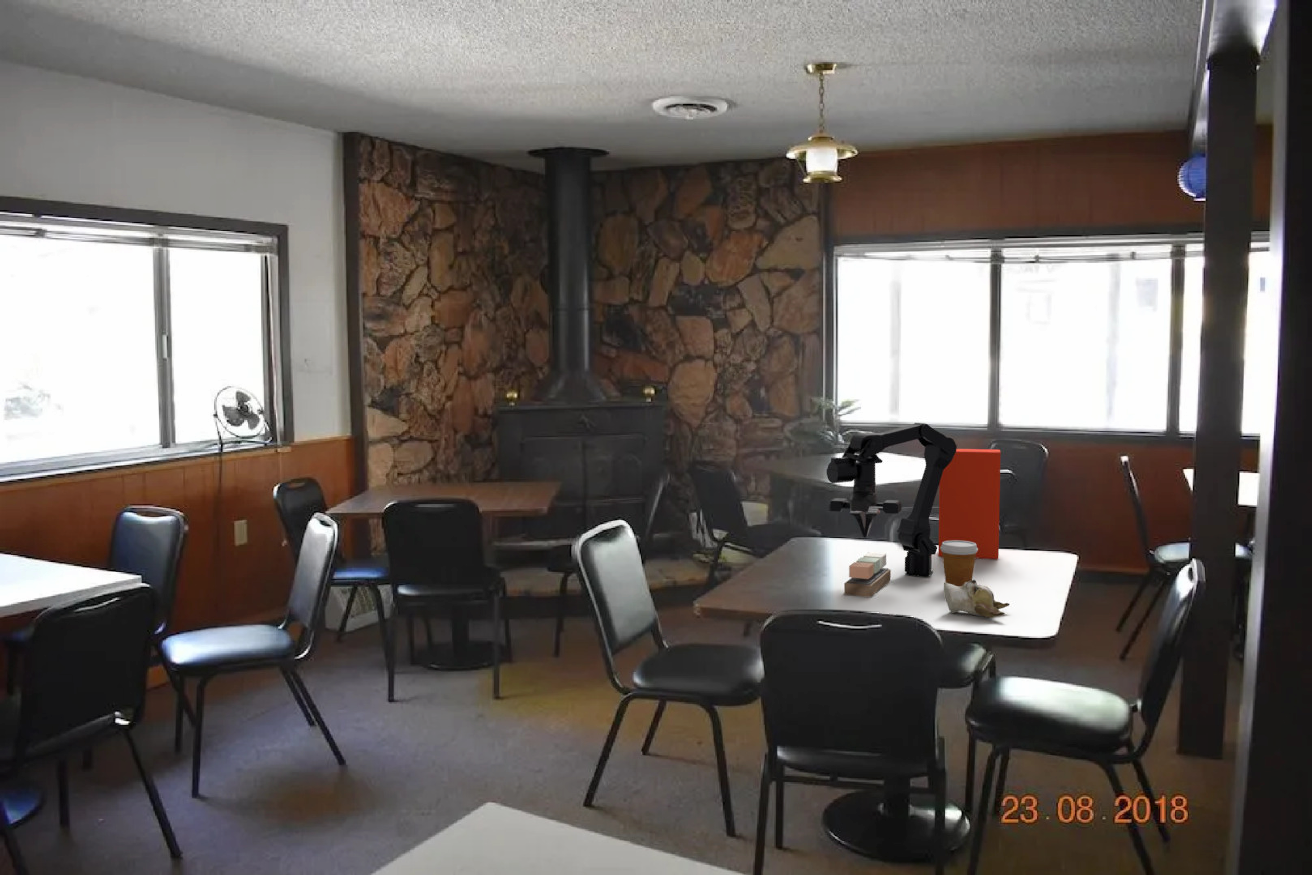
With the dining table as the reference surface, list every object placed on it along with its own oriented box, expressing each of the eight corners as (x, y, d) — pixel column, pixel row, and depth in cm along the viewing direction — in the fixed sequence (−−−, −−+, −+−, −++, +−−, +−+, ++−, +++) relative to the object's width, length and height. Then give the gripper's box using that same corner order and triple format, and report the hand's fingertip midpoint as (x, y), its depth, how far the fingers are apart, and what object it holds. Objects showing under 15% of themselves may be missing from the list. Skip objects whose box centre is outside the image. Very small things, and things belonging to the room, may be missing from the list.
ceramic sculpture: (948, 571, 263) (1012, 580, 257) (945, 605, 264) (1009, 615, 258) (940, 580, 254) (1006, 590, 248) (937, 616, 255) (1003, 626, 249)
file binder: (998, 559, 319) (1000, 452, 316) (938, 556, 324) (939, 451, 321) (997, 554, 327) (999, 449, 324) (938, 551, 332) (940, 448, 329)
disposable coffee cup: (957, 594, 276) (958, 548, 275) (932, 587, 285) (932, 542, 284) (985, 590, 281) (986, 544, 280) (959, 582, 289) (960, 538, 288)
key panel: (890, 580, 293) (890, 568, 293) (871, 597, 274) (871, 584, 274) (865, 578, 296) (865, 565, 296) (844, 594, 277) (844, 581, 277)
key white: (886, 564, 292) (886, 553, 292) (881, 568, 288) (881, 557, 287) (867, 563, 294) (868, 552, 294) (863, 566, 290) (863, 555, 290)
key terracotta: (873, 575, 280) (873, 563, 279) (868, 578, 275) (868, 567, 275) (854, 573, 282) (854, 562, 281) (849, 577, 277) (849, 565, 277)
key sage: (879, 569, 286) (880, 558, 286) (875, 573, 281) (875, 562, 281) (861, 568, 288) (861, 557, 288) (856, 571, 283) (856, 560, 283)
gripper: (823, 483, 287) (824, 541, 289) (893, 485, 280) (894, 544, 281) (833, 477, 297) (834, 533, 299) (901, 479, 290) (902, 536, 291)
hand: (865, 537), depth 292 cm, fingers closed
